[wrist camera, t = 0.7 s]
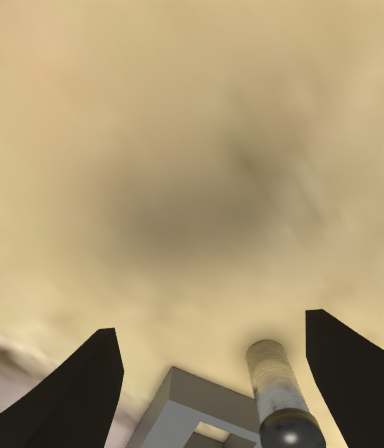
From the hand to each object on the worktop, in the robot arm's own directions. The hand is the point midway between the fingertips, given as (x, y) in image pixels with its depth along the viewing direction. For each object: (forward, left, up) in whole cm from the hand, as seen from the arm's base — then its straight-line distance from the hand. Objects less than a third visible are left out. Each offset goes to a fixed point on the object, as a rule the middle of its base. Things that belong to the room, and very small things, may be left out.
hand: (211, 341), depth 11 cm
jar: (-8, +6, -10) cm, 14 cm away
